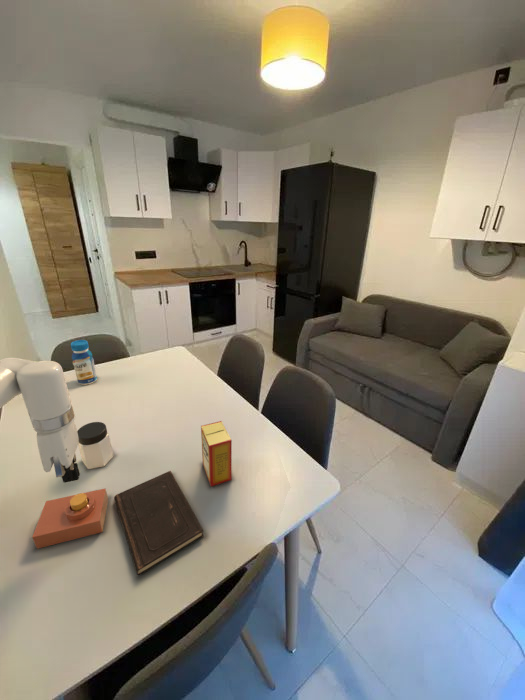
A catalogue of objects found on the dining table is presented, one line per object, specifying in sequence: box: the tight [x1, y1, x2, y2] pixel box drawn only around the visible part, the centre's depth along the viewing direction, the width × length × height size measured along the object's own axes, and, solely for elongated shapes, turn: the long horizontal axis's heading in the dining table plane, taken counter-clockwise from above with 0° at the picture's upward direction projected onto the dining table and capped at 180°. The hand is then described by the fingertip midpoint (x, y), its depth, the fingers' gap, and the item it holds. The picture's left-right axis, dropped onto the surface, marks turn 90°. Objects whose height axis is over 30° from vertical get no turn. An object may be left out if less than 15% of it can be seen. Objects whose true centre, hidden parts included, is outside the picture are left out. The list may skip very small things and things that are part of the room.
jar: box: [77, 421, 114, 470], centre depth 92 cm, size 9×8×12 cm
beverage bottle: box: [70, 339, 98, 386], centre depth 135 cm, size 8×8×20 cm
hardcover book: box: [114, 470, 205, 576], centre depth 77 cm, size 16×23×2 cm
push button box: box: [31, 487, 109, 549], centre depth 74 cm, size 14×10×6 cm
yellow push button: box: [70, 492, 88, 511], centre depth 73 cm, size 4×4×2 cm
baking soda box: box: [200, 420, 233, 487], centre depth 89 cm, size 10×6×16 cm
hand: (72, 478), depth 70 cm, fingers closed
